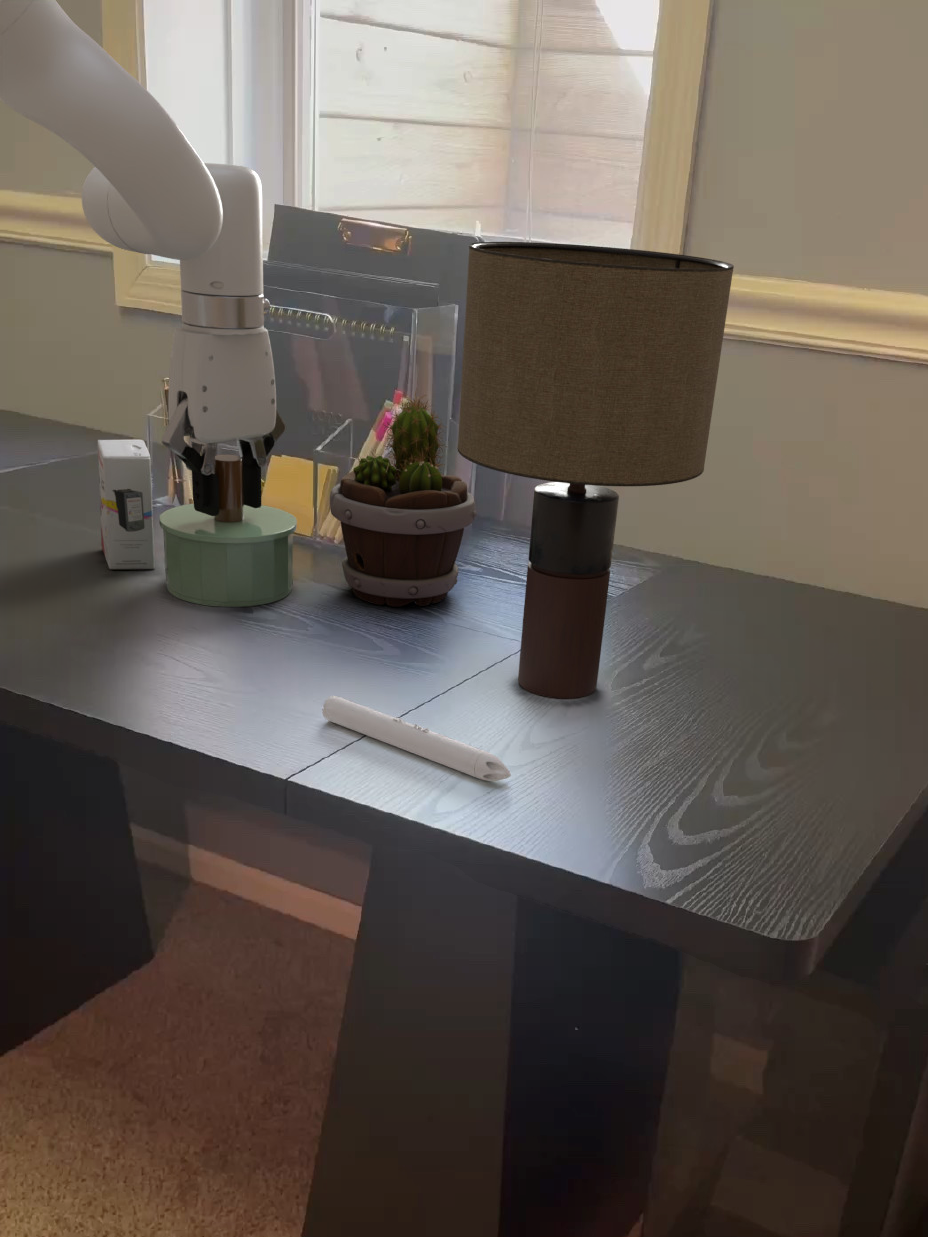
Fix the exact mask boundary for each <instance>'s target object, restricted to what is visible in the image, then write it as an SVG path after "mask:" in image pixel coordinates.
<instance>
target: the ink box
mask: <svg viewBox="0 0 928 1237" xmlns="http://www.w3.org/2000/svg"><path fill="white" fill-rule="evenodd" d="M97 454H98V455H97V456H98V457H97V458H98V482H99V483H98V485H99V486H98V487H99V508H100V509H99V510H100V536H101V537H100V539H101V540H100V541H101V542H100V543H101V549H102V552H103V555H104V558H105V561H106V564H107V566H108V569H109V570H155V568H156V567H155V565H156V564H155V563H156V562H155V560H156V559H155V537H154V512H153V511H154V510H153V487H152V467H151V466H152V464H151V462H152V461H151V455H150V452H149V450H148V447H147V445H146V443H145V440H144V439H137V438H135V439H97Z"/></svg>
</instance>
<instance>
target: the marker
mask: <svg viewBox="0 0 928 1237" xmlns="http://www.w3.org/2000/svg"><path fill="white" fill-rule="evenodd" d="M322 707H323V708H322V711H321V712H322V716H323V718H324V719H325V720H327V721H329V722H331V723H334V724H336V725H338V726H341V727H343V728H347V729H349V730H352V731H354V732H357V733H359V734H362V735H365V736H367V737H369V738H372V739H375V740H377V741H380V742H382V743H386V744H388V745H390V746H394V747H396V748H398V749H401V750H404V751H406V752H408V753H411V754H414V755H417V756H419V757H422V758H425V759H427V760H429V761H432V762H435V763H437V764H440V765H443V766H445V767H448V768H450V769H453V770H455V771H458V772H461V773H463V774H466V775H469V776H471V777H474V778H477V779H479V780H482V781H485V782H497V781H498V782H499V781H502V780H506V779H508V778H510V777H512V775H511V771H510V770H509V769H508V768H507V766H506V765H505V764H504V762H502V759H500V758H499V757H498V756H496V755H495V754H493V753H491V752H488V751H486V750H483V749H481V748H478V747H475V746H472V745H469V744H467V743H464V742H461V741H459V740H456V739H453V738H450V737H448V736H446V735H443V734H440V733H437V732H435V731H432V730H430V729H429V727H426V728H424V727H422V725H418V723H415V724H412V723H410V722H407V721H405V720H402V718H400V717H394V716H391V715H389V714H387V713H383V712H380V711H378V710H376V709H373V708H371V707H367V706H364V705H362V704H359V703H356V702H353V701H352V700H349V699H345V698H343V697H341V696H337V695H330V696H329V697H328V698H326V699H325V701H324V703H323V705H322Z"/></svg>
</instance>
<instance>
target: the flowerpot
mask: <svg viewBox="0 0 928 1237" xmlns="http://www.w3.org/2000/svg"><path fill="white" fill-rule="evenodd" d="M417 390H418V388H417V387H416V388H415V392H414V398H413V399H411V398H410V397H409V396H406V395H404V397H403V400H406V401H405V403H403V402H401V407H399V409H400V410H401V411H400V412H399V413H397V410H395V414H393V413H391V417H390V420H392V421H391V422H389V421H386V423H387V425H388V426H387V425H385V424H384V423H382V425H383V426H384V427H386V428H387V431H386V435H387V436H389V437H387V439H386V441H387V443H386V444H387V445H384V447H385V448H387V451H389V452H390V453H389V452H387V454H389V456H388V457H383V454H384V452H385V451H384V450H382V451H383V452H382V453H381V455H379V453H377V455H376V450H375V448H372V450H373V451H368V452H367V453H366V457H361V456H360V452H358V453H357V460H358V465H357V466H355V467H354V468H353V469H352V470H351V471H350V472H348V473H346V474H345V475H344V476H342V477H341V479H340V483H337V484H336V485H334V486H333V487H332V488H331V490H330V493H329V508H330V514H331V515H332V517H334V518H335V519H336V520H337V521H339V522H340V527H341V534H342V538H343V543H344V547H345V548H344V549H345V552H346V556H345V557H344V558H343V559H342V561H341V567H342V572H343V576H344V579H345V582H346V584H347V585H348V586H350V587H351V591H352V592H353V593H354V594H353V595H354V596H355V597H356V598H358V599H360V600H362V601H364V602H367V603H371V604H373V605H379V606H380V605H381V606H382V605H384V604H386V605H387V606H389V607H393V608H394V607H395V608H396V607H397V608H398V607H403V606H406V605H409V604H410V603H412V602H414V603H415V605H417V606H419V607H426V606H428V605H430V604H437V603H440V602H441V601H443V600H444V599H445V598H446V597H447V596H448V594H449V592H450V591H451V590H452V589H453V588H454V587H455V585H456V584H458V576H459V566H458V565H457V563H456V560H457V558H458V554H459V551H460V547H461V544H462V540H463V536H464V532H465V531H464V530H465V528H467V527H469V526H471V525H472V524H473V522H474V520H475V518H476V517H477V516H478V513H477V510H476V502H475V501H476V500H475V498H474V496H473V495H472V494H471V492H468V485H467V483H466V482H465V481H463V480H462V478H460V477H459V476H457V475H453V474H448V475H445V474H443V473H442V472H441V471H442V470H441V468H444V469H445V467H444V466H446V464H444V463H441V460H439V461H438V459H442V458H444V455H443V456H440V454H441V453H442V452H444V449H443V448H442V447H444V448H447V445H446V444H441V443H443V442H444V438H443V437H444V435H443V434H442V433H445V430H443V428H448V427H447V426H443V422H442V421H441V418H440V417H439V414H437V413H435V412H436V410H432V409H430V408H429V407H432V406H434V404H431V405H430V404H429V403H428V402H429V400H427V401H426V402H422V401H421V399H423V398H424V397H426V396H427V394H425V395H423V396H421V397H420V395H418V396H417ZM416 397H417V398H416ZM419 397H420V398H419ZM430 411H431V412H430ZM439 419H440V420H439ZM440 430H441V431H440ZM389 431H390V432H391V433H392V434H391V433H389ZM438 432H439V433H438ZM439 439H441V440H442V441H441V440H439ZM390 450H391V451H390ZM369 453H371V454H372V456H371V455H368V454H369ZM392 459H393V461H392ZM440 467H441V468H440Z"/></svg>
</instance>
